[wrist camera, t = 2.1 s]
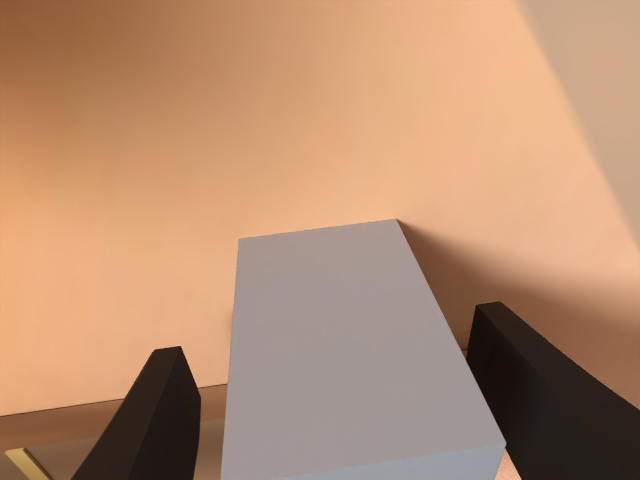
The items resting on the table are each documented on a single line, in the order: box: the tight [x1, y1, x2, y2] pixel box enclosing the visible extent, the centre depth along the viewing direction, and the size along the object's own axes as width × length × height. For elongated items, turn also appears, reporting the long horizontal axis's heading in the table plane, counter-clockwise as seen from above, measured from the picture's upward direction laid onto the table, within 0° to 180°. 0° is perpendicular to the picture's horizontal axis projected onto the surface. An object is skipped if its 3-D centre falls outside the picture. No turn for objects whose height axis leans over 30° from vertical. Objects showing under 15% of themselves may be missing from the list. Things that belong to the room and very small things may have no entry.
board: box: [0, 350, 467, 480], centre depth 14 cm, size 4×22×1 cm, turn 94°
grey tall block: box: [221, 219, 506, 480], centre depth 11 cm, size 10×4×6 cm, turn 4°
